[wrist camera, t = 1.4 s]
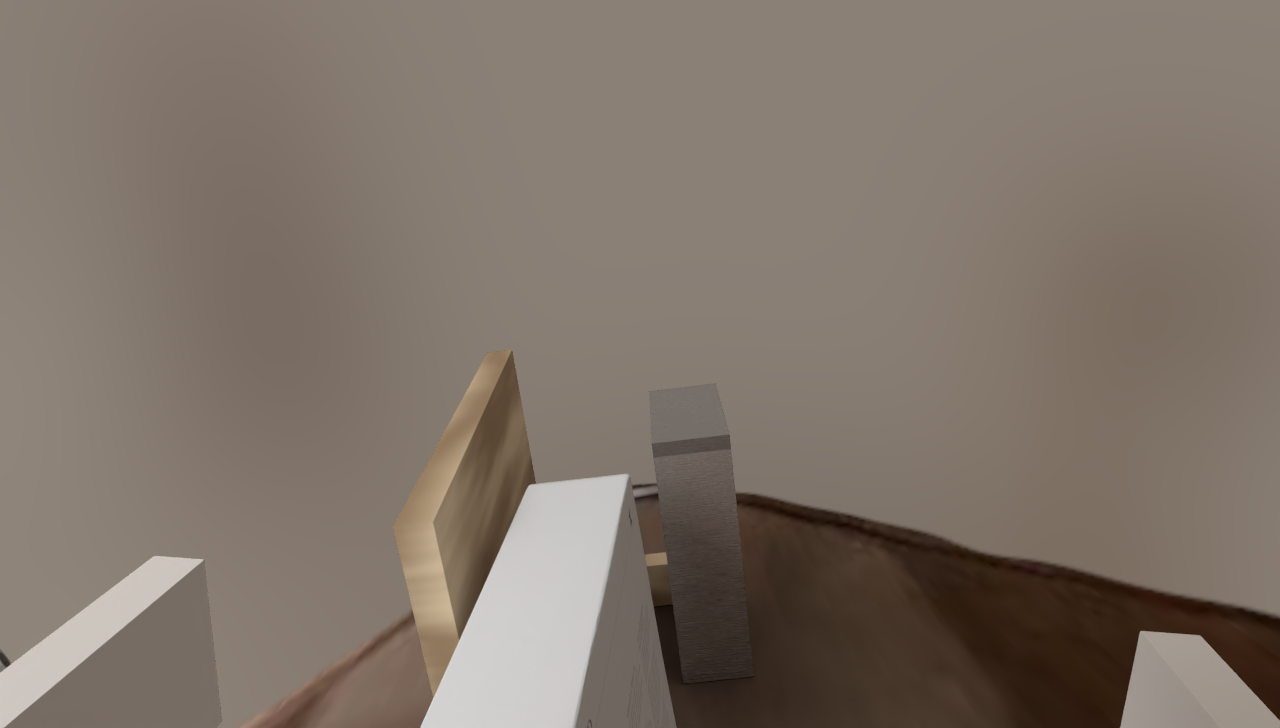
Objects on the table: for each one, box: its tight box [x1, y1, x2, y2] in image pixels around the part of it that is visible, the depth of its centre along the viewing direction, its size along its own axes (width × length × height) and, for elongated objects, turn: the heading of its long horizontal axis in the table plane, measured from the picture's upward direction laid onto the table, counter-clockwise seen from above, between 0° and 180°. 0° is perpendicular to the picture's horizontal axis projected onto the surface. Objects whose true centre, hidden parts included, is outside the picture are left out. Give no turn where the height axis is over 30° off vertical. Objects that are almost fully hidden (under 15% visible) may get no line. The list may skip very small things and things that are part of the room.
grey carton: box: [649, 384, 754, 684], centre depth 51 cm, size 4×8×15 cm, turn 0°
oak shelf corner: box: [393, 350, 673, 698], centre depth 46 cm, size 10×22×18 cm, turn 0°
